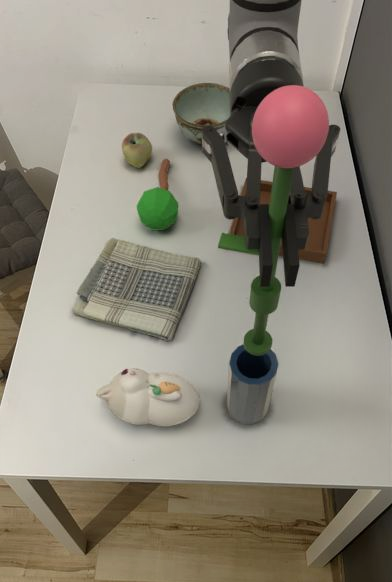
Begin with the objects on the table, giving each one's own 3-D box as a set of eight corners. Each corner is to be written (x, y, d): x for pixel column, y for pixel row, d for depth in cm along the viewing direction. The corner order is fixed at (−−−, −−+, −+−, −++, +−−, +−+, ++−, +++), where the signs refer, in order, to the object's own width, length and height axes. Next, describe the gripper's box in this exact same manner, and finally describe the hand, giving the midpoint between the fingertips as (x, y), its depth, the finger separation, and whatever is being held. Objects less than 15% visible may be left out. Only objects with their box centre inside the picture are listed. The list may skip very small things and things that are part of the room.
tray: (334, 201, 97) (337, 191, 95) (323, 263, 90) (326, 254, 87) (245, 187, 99) (245, 177, 97) (228, 246, 92) (228, 236, 90)
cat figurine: (204, 378, 69) (95, 368, 68) (199, 436, 69) (89, 426, 68) (201, 372, 78) (104, 363, 77) (196, 423, 78) (100, 414, 78)
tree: (153, 181, 106) (141, 241, 93) (143, 147, 100) (129, 206, 88) (188, 176, 105) (181, 236, 92) (180, 141, 99) (172, 200, 86)
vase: (271, 391, 78) (281, 347, 65) (263, 429, 75) (273, 389, 62) (232, 383, 78) (235, 337, 66) (223, 419, 75) (225, 379, 63)
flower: (282, 329, 61) (340, 73, 33) (275, 366, 58) (331, 123, 30) (223, 318, 62) (230, 60, 34) (213, 353, 59) (212, 107, 31)
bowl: (187, 112, 112) (185, 77, 105) (245, 122, 109) (247, 88, 102) (166, 151, 105) (163, 118, 98) (227, 164, 103) (228, 130, 96)
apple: (155, 147, 106) (152, 122, 101) (151, 173, 102) (148, 149, 97) (127, 146, 106) (123, 122, 101) (122, 172, 103) (117, 148, 97)
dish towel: (204, 263, 90) (203, 251, 88) (171, 345, 82) (170, 335, 79) (109, 241, 94) (106, 229, 91) (69, 318, 85) (64, 307, 83)
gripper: (329, 124, 54) (359, 303, 42) (197, 125, 55) (190, 303, 43) (345, 54, 48) (385, 244, 36) (194, 57, 48) (186, 244, 37)
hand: (279, 276), depth 40 cm, fingers closed on flower
